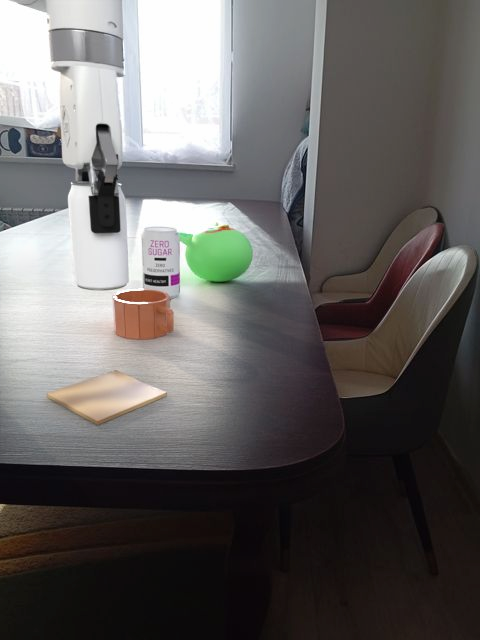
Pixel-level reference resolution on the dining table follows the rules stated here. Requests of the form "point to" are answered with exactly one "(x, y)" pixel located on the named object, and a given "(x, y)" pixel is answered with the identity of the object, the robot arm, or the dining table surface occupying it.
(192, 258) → the green teapot
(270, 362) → the dining table surface
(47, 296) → the dining table surface
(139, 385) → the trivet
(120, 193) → the can
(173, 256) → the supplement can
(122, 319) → the mug
